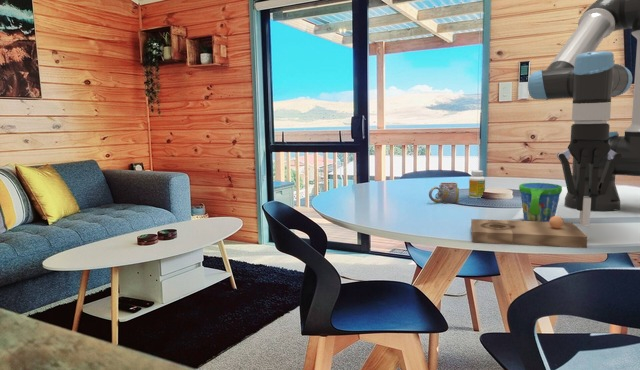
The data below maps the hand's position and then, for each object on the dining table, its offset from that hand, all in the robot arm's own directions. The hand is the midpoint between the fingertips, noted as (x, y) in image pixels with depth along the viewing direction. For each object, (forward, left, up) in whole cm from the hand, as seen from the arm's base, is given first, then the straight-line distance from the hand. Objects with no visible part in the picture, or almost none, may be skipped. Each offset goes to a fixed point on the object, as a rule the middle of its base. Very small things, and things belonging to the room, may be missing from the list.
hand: (584, 224), depth 107 cm
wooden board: (+13, 0, -4) cm, 13 cm away
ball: (+6, 0, 0) cm, 6 cm away
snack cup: (+7, -18, -4) cm, 20 cm away
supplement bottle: (+22, -55, -4) cm, 59 cm away
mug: (+33, -44, -4) cm, 55 cm away
